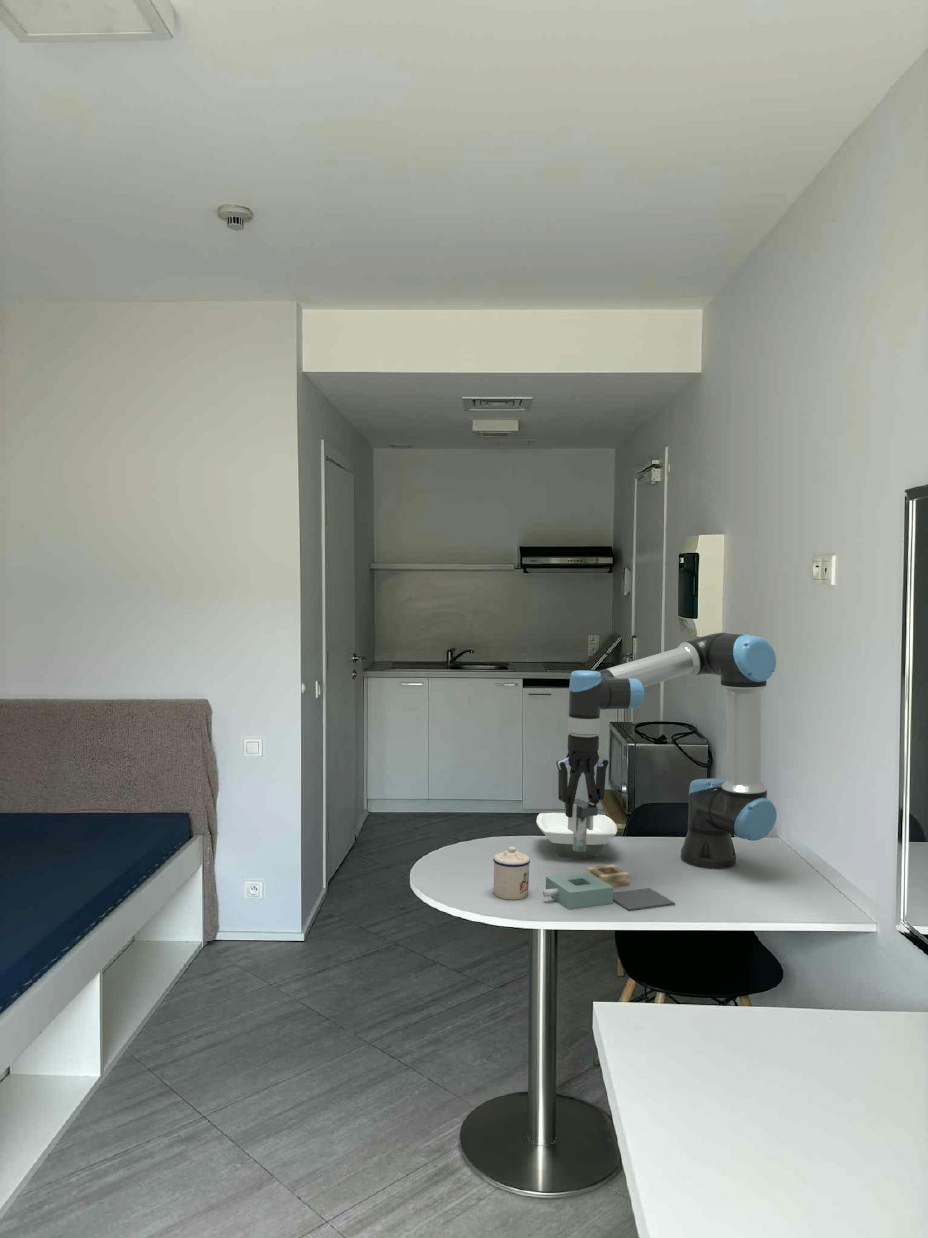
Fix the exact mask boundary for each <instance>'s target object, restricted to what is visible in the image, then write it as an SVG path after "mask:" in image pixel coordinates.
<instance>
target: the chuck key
mask: <svg viewBox="0 0 928 1238" xmlns="http://www.w3.org/2000/svg"><path fill="white" fill-rule="evenodd" d="M574 804H576V805H577V811H576V832H573V850H574V851H577V852H584V851H586V836H587V816H597V814H598V812H599V811H598V809H599V808H598V806H597V805H596V806H594V805H592V804H590V803H587V802H586V801H585V800H583V799H581V798H575V800H574ZM564 809H566V803H564Z"/></svg>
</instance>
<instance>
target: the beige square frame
mask: <svg viewBox="0 0 928 1238" xmlns="http://www.w3.org/2000/svg"><path fill="white" fill-rule="evenodd" d="M586 872H589V873H591V874H593V875H594V876H596V877H597V878H599V879H601V880H602V881H604V882H606V883H607V884H609V885H610V886H612V887H613V888H619V887H627V886H629V887H630V877H631V876H630V873H629V872H627V871H625V870H623V869H622V868H620V867H618V866H616V865H615V864H607V865H596V866H588V867H586Z"/></svg>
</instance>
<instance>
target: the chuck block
mask: <svg viewBox="0 0 928 1238" xmlns="http://www.w3.org/2000/svg"><path fill="white" fill-rule="evenodd" d="M613 892H614V887H612V886H610V885H609V884H607V883H606V882H604V881H602V880H601V879H599V878H597V877H596V876H594V875H593V874H591V873H589V872H587V871H585V872H576V873H567V874H559V875H550V876H549V875H548V876H545V889H543V890H542V895H543V897H545V898H548V897H551V898H553V900H555V901H557V902H559V903H560V904H561V905H562V906H564V907H565V908H567V909H568V910H574V909H583V908H591V907H597V906H606V905H613V904H614V901H613Z"/></svg>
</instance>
